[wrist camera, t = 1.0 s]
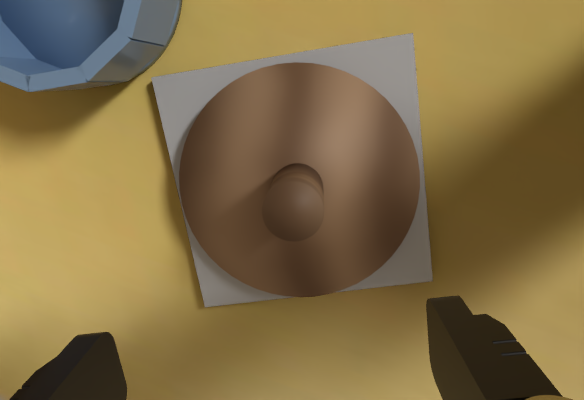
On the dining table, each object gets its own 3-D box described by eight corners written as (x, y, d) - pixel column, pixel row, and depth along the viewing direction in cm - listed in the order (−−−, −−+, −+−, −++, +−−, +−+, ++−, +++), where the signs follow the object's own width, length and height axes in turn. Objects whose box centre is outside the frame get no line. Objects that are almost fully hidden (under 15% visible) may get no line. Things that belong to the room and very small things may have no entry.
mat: (410, 34, 26) (412, 32, 25) (429, 275, 30) (432, 281, 30) (155, 77, 28) (151, 77, 27) (207, 301, 32) (204, 307, 31)
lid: (404, 43, 26) (431, 32, 20) (424, 275, 30) (451, 325, 24) (160, 84, 27) (116, 86, 21) (210, 300, 31) (184, 353, 25)
